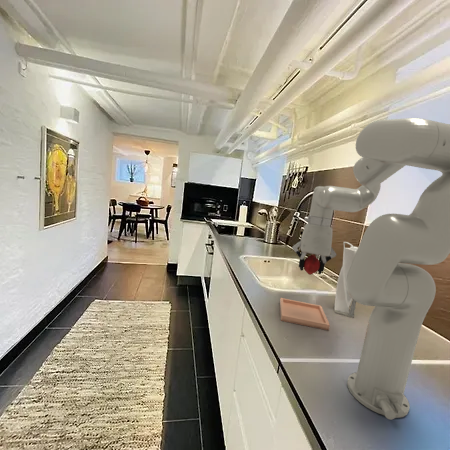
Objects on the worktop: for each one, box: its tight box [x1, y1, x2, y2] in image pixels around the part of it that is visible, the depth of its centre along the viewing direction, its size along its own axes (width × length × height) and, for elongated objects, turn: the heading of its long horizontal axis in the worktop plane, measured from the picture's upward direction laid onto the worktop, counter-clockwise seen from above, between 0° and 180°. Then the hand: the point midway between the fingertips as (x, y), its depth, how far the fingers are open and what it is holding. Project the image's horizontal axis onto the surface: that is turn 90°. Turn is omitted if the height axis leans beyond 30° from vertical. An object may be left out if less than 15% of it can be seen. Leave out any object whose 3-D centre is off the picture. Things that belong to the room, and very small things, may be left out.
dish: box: [279, 297, 331, 332], centre depth 99 cm, size 16×16×2 cm
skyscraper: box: [333, 241, 359, 319], centre depth 107 cm, size 8×8×28 cm
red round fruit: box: [303, 254, 320, 275], centre depth 97 cm, size 6×6×8 cm
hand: (310, 270), depth 97 cm, fingers closed on red round fruit, 5 cm apart
